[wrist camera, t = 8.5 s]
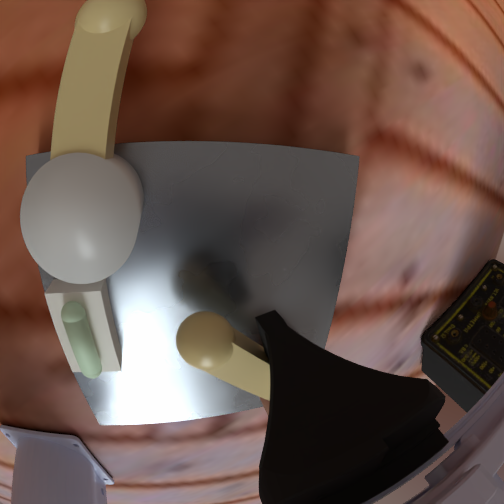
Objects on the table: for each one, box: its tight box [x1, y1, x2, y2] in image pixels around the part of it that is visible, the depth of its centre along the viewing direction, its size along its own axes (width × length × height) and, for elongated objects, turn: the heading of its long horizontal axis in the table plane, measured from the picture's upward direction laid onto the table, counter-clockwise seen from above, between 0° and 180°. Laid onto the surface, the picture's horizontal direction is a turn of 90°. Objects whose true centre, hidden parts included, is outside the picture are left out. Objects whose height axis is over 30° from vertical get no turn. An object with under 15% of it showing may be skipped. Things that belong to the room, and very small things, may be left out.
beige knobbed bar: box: [176, 311, 270, 416], centre depth 12 cm, size 9×4×3 cm, turn 42°
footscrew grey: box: [20, 0, 147, 284], centre depth 6 cm, size 9×4×3 cm, turn 171°
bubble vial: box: [45, 278, 122, 379], centre depth 9 cm, size 4×2×2 cm, turn 176°
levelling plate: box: [26, 141, 359, 425], centre depth 13 cm, size 15×14×1 cm
